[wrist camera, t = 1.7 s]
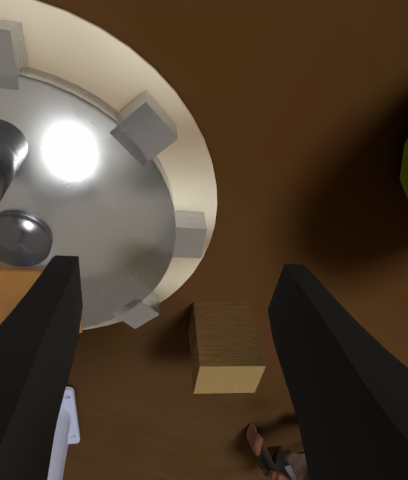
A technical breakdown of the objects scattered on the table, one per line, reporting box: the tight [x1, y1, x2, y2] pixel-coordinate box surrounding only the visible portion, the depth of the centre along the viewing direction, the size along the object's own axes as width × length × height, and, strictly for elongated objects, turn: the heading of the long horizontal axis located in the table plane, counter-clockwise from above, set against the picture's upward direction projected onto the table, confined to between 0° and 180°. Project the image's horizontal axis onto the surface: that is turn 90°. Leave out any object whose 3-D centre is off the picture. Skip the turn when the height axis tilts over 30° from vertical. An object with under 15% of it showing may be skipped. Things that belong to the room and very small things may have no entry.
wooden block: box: [188, 302, 266, 394], centre depth 25 cm, size 4×3×5 cm
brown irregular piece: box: [247, 423, 309, 480], centre depth 39 cm, size 12×10×8 cm
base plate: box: [0, 0, 217, 330], centre depth 20 cm, size 20×20×1 cm
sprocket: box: [0, 19, 207, 333], centre depth 17 cm, size 18×18×6 cm
